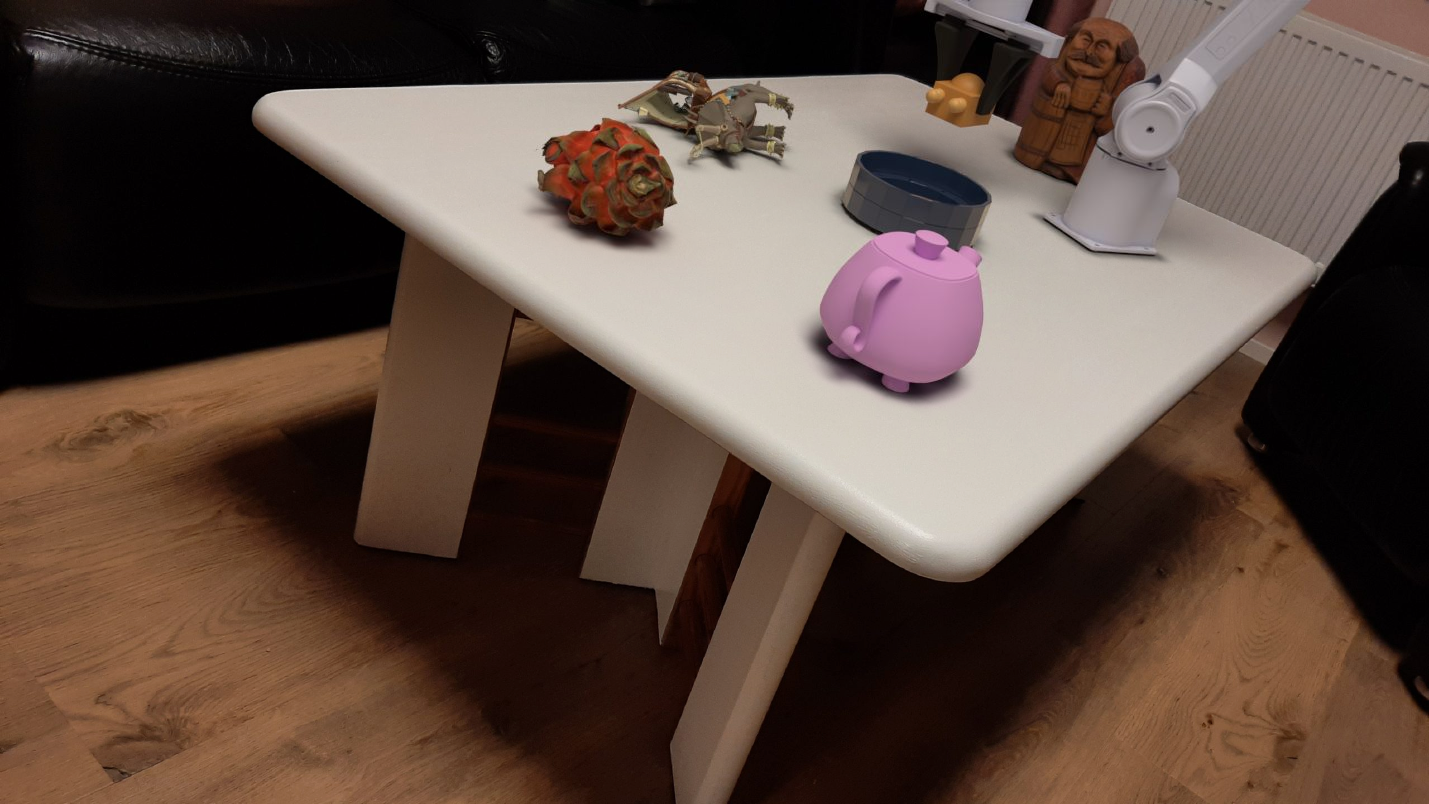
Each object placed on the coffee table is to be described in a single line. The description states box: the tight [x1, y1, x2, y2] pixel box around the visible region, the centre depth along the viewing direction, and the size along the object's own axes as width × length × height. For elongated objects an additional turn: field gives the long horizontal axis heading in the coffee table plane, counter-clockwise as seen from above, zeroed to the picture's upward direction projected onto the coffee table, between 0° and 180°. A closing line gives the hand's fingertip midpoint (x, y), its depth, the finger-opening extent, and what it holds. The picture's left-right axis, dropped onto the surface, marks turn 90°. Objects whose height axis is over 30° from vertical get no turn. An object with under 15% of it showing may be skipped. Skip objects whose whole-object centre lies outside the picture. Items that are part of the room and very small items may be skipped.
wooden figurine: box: [1013, 16, 1147, 185], centre depth 123 cm, size 12×6×18 cm, turn 55°
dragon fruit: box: [535, 117, 678, 237], centre depth 77 cm, size 8×8×12 cm
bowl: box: [841, 149, 993, 251], centre depth 96 cm, size 13×13×4 cm
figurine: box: [617, 69, 795, 160], centre depth 102 cm, size 20×6×17 cm
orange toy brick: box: [924, 72, 997, 129], centre depth 105 cm, size 8×4×5 cm, turn 138°
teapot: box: [819, 230, 984, 393], centre depth 69 cm, size 10×15×9 cm
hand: (962, 105), depth 106 cm, fingers closed on orange toy brick, 4 cm apart
